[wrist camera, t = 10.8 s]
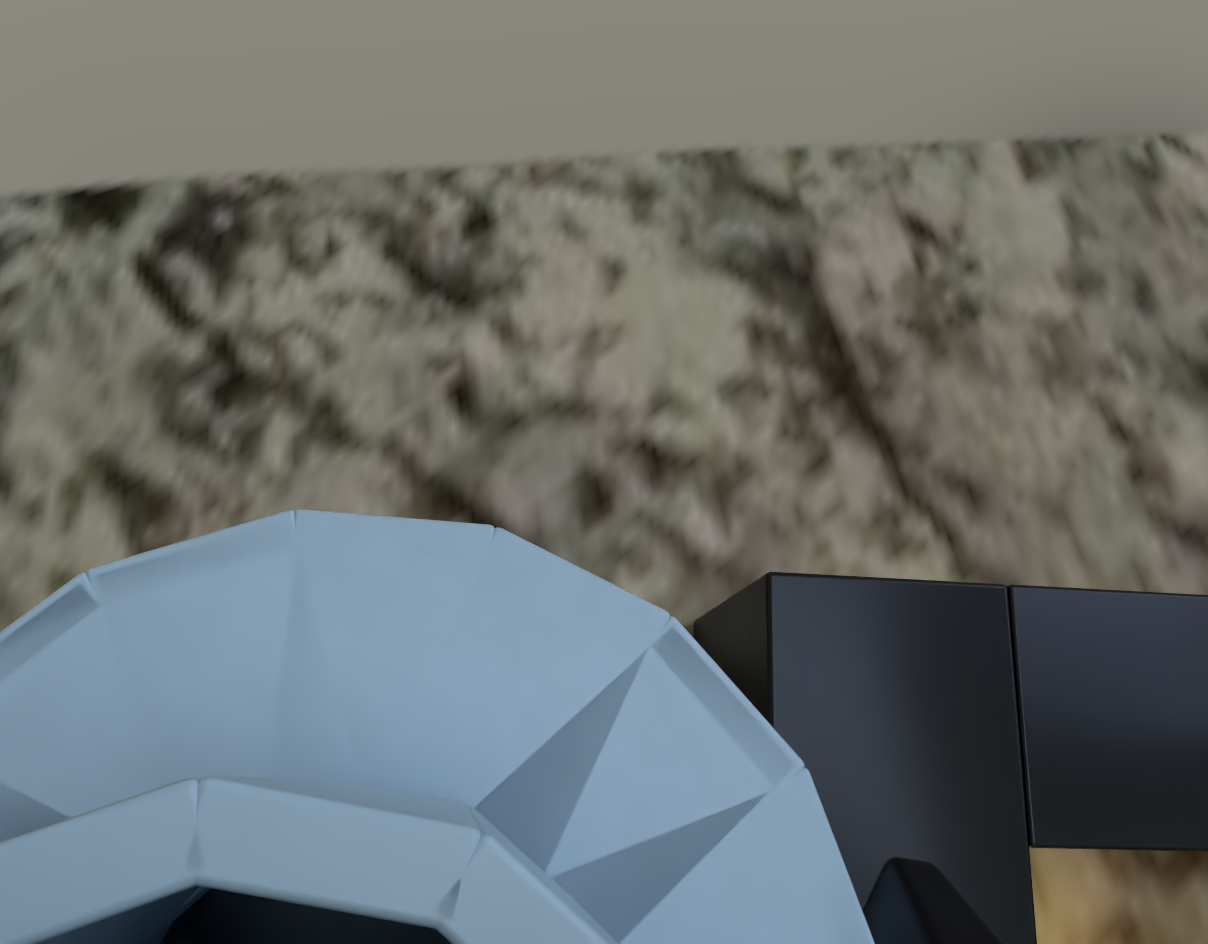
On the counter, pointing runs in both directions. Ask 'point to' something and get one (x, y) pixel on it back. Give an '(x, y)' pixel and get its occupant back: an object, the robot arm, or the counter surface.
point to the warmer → (979, 720)
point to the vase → (391, 755)
